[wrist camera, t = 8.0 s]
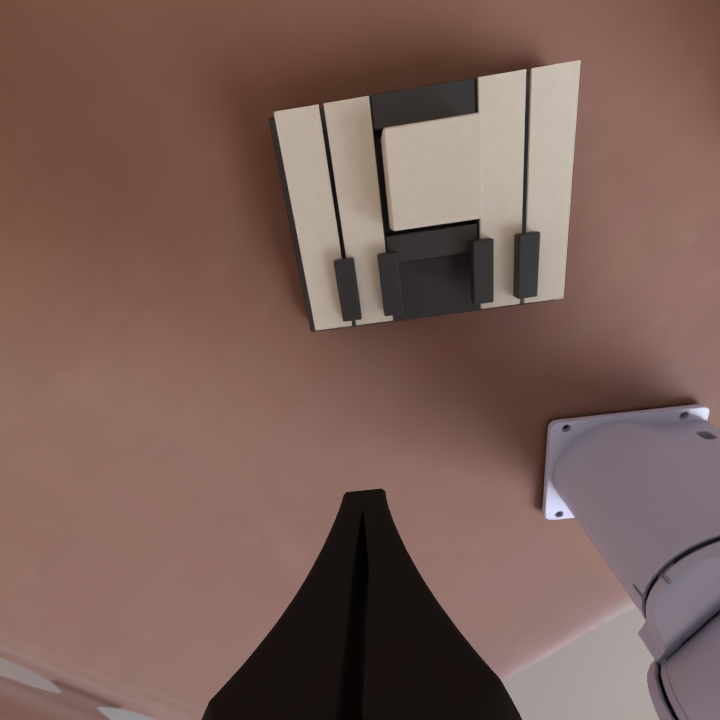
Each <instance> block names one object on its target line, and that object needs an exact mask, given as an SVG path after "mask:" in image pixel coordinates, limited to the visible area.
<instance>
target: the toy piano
mask: <svg viewBox="0 0 720 720" xmlns="http://www.w3.org/2000/svg"><path fill="white" fill-rule="evenodd" d="M529 99H530V74H526V98H525V135H524V172H523V209H522V233H525V229H526V197H527V164H528V131H529ZM369 101H370V110H371V119H372V129H373V138H374V147H375V157H376V166H377V175H378V185H379V194H380V203H381V212H382V222H383V231H384V240H385V250H386V252H391V251H397V252H398V258H399V268H400V279H401V289H402V300H403V310H404V313H403V314H400V315H393V321H400V320H407V319H415V318H423V317H430V316H438V315H446V314H453V313H461V312H469V311H476V310H484V309H481V304H476V305H475V304H473V303H472V302H471V281H470V241H471V240H476V239H480V231H479V219H474V220H468V221H461V222H454V223H447V224H440V225H433V226H426V227H419V228H413V229H406V230H399V231H393V230H391V229H390V227H389V218H388V209H387V199H386V189H385V179H384V169H383V159H382V149H381V137H382V132H383V129H384V128H386V127H392V126H398V125H405V124H411V123H417V122H423V121H429V120H435V119H441V118H447V117H454V116H460V115H466V114H472V113H478V89H477V78H476V79H475V78H470V79H464V80H458V81H452V82H446V83H440V84H435V85H429V86H423V87H417V88H411V89H405V90H399V91H393V92H387V93H381V94H375V95H371V96H369ZM319 111H320V117H321V124H322V130H323V137H324V144H325V150H326V157H327V163H328V170H329V177H330V183H331V190H332V196H333V203H334V209H335V216H336V223H337V229H338V236H339V242H340V249H341V255H342V258H346V253H345V247H344V240H343V233H342V226H341V220H340V213H339V206H338V199H337V193H336V186H335V179H334V172H333V165H332V159H331V152H330V145H329V138H328V132H327V125H326V118H325V111H324V108H322V109H319ZM269 122H270V127H271V132H272V137H273V142H274V147H275V152H276V157H277V162H278V167H279V172H280V177H281V182H282V187H283V192H284V198H285V203H286V208H287V213H288V218H289V223H290V228H291V233H292V238H293V243H294V248H295V253H296V258H297V263H298V268H299V273H300V279H301V284H302V289H303V294H304V299H305V304H306V309H307V314H308V319H309V324H310V329H311V332H315V331H323V330H315V325H314V320H313V315H312V310H311V304H310V299H309V294H308V289H307V284H306V278H305V273H304V268H303V263H302V258H301V252H300V247H299V242H298V237H297V232H296V226H295V221H294V216H293V211H292V206H291V200H290V195H289V190H288V185H287V180H286V174H285V169H284V164H283V159H282V154H281V148H280V143H279V138H278V133H277V128H276V122H275V117H270V118H269ZM554 300H556V299H554ZM546 301H553V300H546ZM539 302H545V301H539ZM531 303H538V302H531ZM522 304H530V303H523V298H522V299H520V304H516V305H522ZM508 306H515V305H508ZM500 307H507V306H500ZM493 308H499V307H493ZM485 309H492V308H485ZM385 322H392V321H385ZM378 323H384V322H378ZM370 324H376V323H370ZM362 325H369V324H362ZM353 326H361V325H356V321H355V320H354V321H352V326H347V327H353ZM339 328H346V327H339ZM332 329H338V328H332ZM324 330H330V329H324Z"/></svg>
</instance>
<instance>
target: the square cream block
mask: <svg viewBox="0 0 720 720" xmlns="http://www.w3.org/2000/svg"><path fill="white" fill-rule="evenodd" d="M381 149H382V159H383V169H384V179H385V189H386V199H387V209H388V218H389V227H390V229H391V230H393V231H399V230H406V229H413V228H419V227H426V226H433V225H440V224H447V223H454V222H461V221H468V220H474V219H481V218H482V217H483V172H482V114H481V113H480V112H478V113H472V114H466V115H460V116H454V117H447V118H441V119H435V120H429V121H423V122H417V123H411V124H405V125H398V126H392V127H386V128H384V129H383V132H382V137H381Z"/></svg>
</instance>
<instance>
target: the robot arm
mask: <svg viewBox="0 0 720 720" xmlns="http://www.w3.org/2000/svg"><path fill="white" fill-rule="evenodd" d="M682 413H683V414H682ZM681 414H682V415H681ZM708 416H709V408H708V407H706V406H704V405H702V404H693V405H684V406H675V407H666V408H657V409H648V410H639V411H630V412H621V413H612V414H603V415H594V416H585V417H576V418H567V419H558V420H553V421H552V422H550V423H549V425H548V431H547V446H546V462H545V477H544V493H543V508H542V513H543V515H544V517H545V518H546V519H548V520H555V519H565V518H575V519H576V520H577V521H578V523H579V524H580V526H581V527H582V529H583V530H584V531H585V533H586V534H587V536H588V537H589V539H590V540H591V542H592V543H593V544H594V546H595V547H596V549H597V550H598V552H599V553H600V554H601V556H602V557H603V559H604V560H605V562H606V563H607V565H608V566H609V567H610V569H611V570H612V572H613V573H614V575H615V576H616V578H617V579H618V580H619V582H620V583H621V585H622V586H623V588H624V589H625V590H626V592H627V593H628V595H629V596H630V598H631V599H632V601H633V602H634V603H635V605H636V606H637V608H638V609H639V610H640V612H641V613H642V615H643V616H644V618H645V619H646V622H645V624H644V626H643V627H642V629H641V630H640V631H639V633H638V634H639V636H640V637H641V639H642V640H643V642H644V643H645V645H646V646H647V648H648V649H649V651H650V652H651V654H652V656H653V657H654V659H655V660H654V662H653V663H652V664H651V665H650V667H649V670H648V674H647V682H648V688H649V693H650V696H651V699H652V702H653V705H654V708H655V710H656V712H657V715H658V717H659V718H660V720H720V429H719V428H718V427H716V426H714V425H713V424H711V423H709V422H708V421H707V420H708ZM565 425H568V426H567V427H566V428H564V429H563V427H564V426H565ZM202 720H522V719H521V717H520V714H519V712H518V711H517V709H516V707H515V705H514V703H513V701H512V699H511V698H510V696H509V694H508V692H507V690H506V689H505V687H504V685H503V683H502V681H501V680H500V679H499V677H498V676H497V675H496V674H495V673H494V672H493V671H492V670H491V668H490V667H489V666H488V665H487V664H486V663H485V662H484V660H483V659H482V658H481V657H480V656H479V655H478V653H477V652H476V651H475V650H474V649H473V648H472V646H471V645H470V644H469V643H468V641H467V640H466V639H465V638H464V636H463V635H462V634H461V633H460V631H459V630H458V629H457V627H456V626H455V625H454V623H453V622H452V621H451V619H450V618H449V617H448V615H447V614H446V613H445V611H444V610H443V608H442V607H441V606H440V604H439V603H438V601H437V600H436V598H435V597H434V595H433V594H432V592H431V591H430V589H429V588H428V586H427V585H426V583H425V582H424V580H423V578H422V577H421V575H420V573H419V572H418V570H417V568H416V566H415V565H414V563H413V561H412V559H411V557H410V556H409V554H408V552H407V550H406V548H405V546H404V544H403V542H402V540H401V538H400V535H399V533H398V531H397V529H396V526H395V524H394V522H393V519H392V516H391V513H390V511H389V507H388V504H387V500H386V493H385V491H384V490H383V489H374V490H364V491H354V492H346V493H345V494H344V496H343V500H342V503H341V506H340V509H339V511H338V514H337V517H336V519H335V522H334V524H333V526H332V529H331V531H330V533H329V535H328V537H327V540H326V542H325V544H324V546H323V548H322V550H321V552H320V554H319V556H318V558H317V560H316V561H315V563H314V565H313V567H312V569H311V571H310V573H309V574H308V576H307V578H306V579H305V581H304V583H303V584H302V586H301V588H300V589H299V591H298V592H297V594H296V596H295V597H294V599H293V600H292V602H291V603H290V605H289V606H288V607H287V609H286V610H285V612H284V613H283V615H282V616H281V618H280V619H279V620H278V622H277V623H276V624H275V626H274V627H273V628H272V630H271V631H270V632H269V634H268V635H267V636H266V637H265V639H264V640H263V641H262V642H261V644H260V645H259V646H258V647H257V649H256V650H255V651H254V652H253V653H252V655H251V656H250V657H249V658H248V660H247V661H246V662H245V663H244V664H243V665H242V667H241V668H240V669H239V670H238V671H237V672H236V673H235V674H234V675H233V676H232V678H231V679H230V680H229V681H228V682H227V683H226V684H225V685H224V686H223V687H222V688H221V690H220V691H219V692H218V693H217V694H216V695H215V696H214V697H213V698H212V699H211V700H210V702H209V704H208V706H207V708H206V711H205V713H204V715H203V718H202Z"/></svg>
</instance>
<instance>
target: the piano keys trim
mask: <svg viewBox="0 0 720 720" xmlns="http://www.w3.org/2000/svg"><path fill="white" fill-rule="evenodd" d="M580 62H581V60H577V61H571V62H565V63H559V64H553V65H547V66H542V67H536V68H532V69H531V70H530V99H529V131H528V164H527V197H526V229H525V233H522V209H523V172H524V135H525V98H526V69H524V70H518V71H512V72H506V73H500V74H494V75H488V76H482V77H478V78H477V89H478V112H480V113H481V114H482V172H483V217H482V218H481V219H479V231H480V239H476V240H471V241H470V281H471V302H472V303H473V304H475V305H476V304H481V309H485V308H493V307H500V306H508V305H516V304H520V299H522V298H523V303H531V302H539V301H546V300H554V299H562V298H563V297H564V283H565V270H566V256H567V242H568V228H569V214H570V200H571V186H572V173H573V159H574V145H575V131H576V117H577V103H578V90H579V76H580ZM323 105H324V111H325V118H326V125H327V132H328V138H329V145H330V152H331V159H332V165H333V172H334V179H335V186H336V193H337V199H338V206H339V213H340V220H341V226H342V233H343V240H344V247H345V253H346V258H342V255H341V249H340V242H339V236H338V229H337V223H336V216H335V209H334V203H333V196H332V190H331V183H330V177H329V170H328V163H327V157H326V150H325V144H324V137H323V130H322V124H321V117H320V111H319V105H318V104H317V105H311V106H305V107H299V108H293V109H287V110H281V111H275V112H274V117H275V122H276V128H277V133H278V138H279V143H280V148H281V154H282V159H283V164H284V169H285V174H286V180H287V185H288V190H289V195H290V200H291V206H292V211H293V216H294V221H295V226H296V232H297V237H298V242H299V247H300V252H301V258H302V263H303V268H304V273H305V278H306V284H307V289H308V294H309V299H310V304H311V310H312V315H313V320H314V325H315V330H324V329H332V328H339V327H347V326H352V321H354V320H355V321H356V325H362V324H370V323H378V322H385V321H393V315H400V314H403V313H404V310H403V300H402V289H401V279H400V268H399V258H398V252H397V251H391V252H386V250H385V240H384V231H383V222H382V212H381V203H380V194H379V185H378V175H377V166H376V157H375V147H374V138H373V129H372V119H371V110H370V101H369V96H364V97H358V98H352V99H346V100H340V101H334V102H329V103H324V104H323Z"/></svg>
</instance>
